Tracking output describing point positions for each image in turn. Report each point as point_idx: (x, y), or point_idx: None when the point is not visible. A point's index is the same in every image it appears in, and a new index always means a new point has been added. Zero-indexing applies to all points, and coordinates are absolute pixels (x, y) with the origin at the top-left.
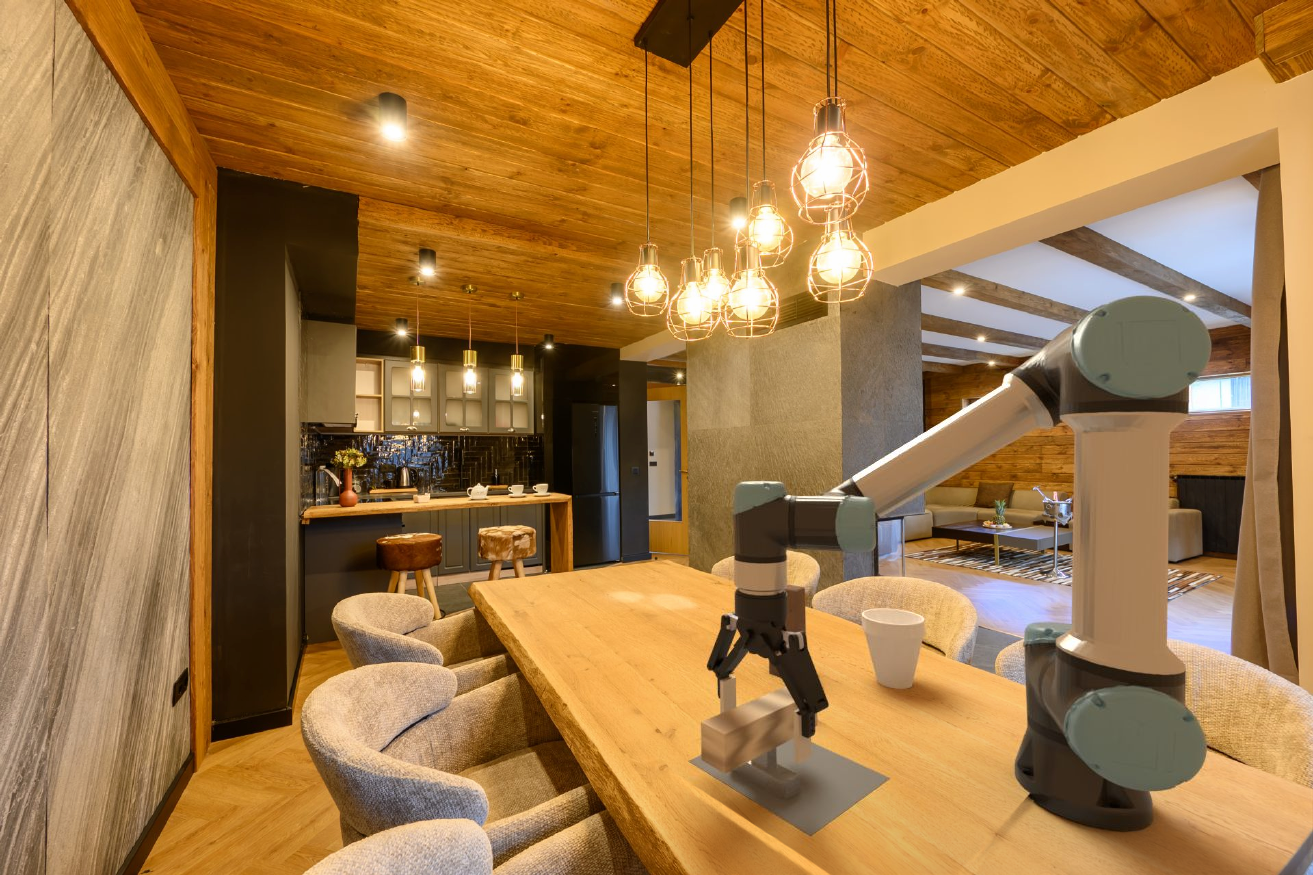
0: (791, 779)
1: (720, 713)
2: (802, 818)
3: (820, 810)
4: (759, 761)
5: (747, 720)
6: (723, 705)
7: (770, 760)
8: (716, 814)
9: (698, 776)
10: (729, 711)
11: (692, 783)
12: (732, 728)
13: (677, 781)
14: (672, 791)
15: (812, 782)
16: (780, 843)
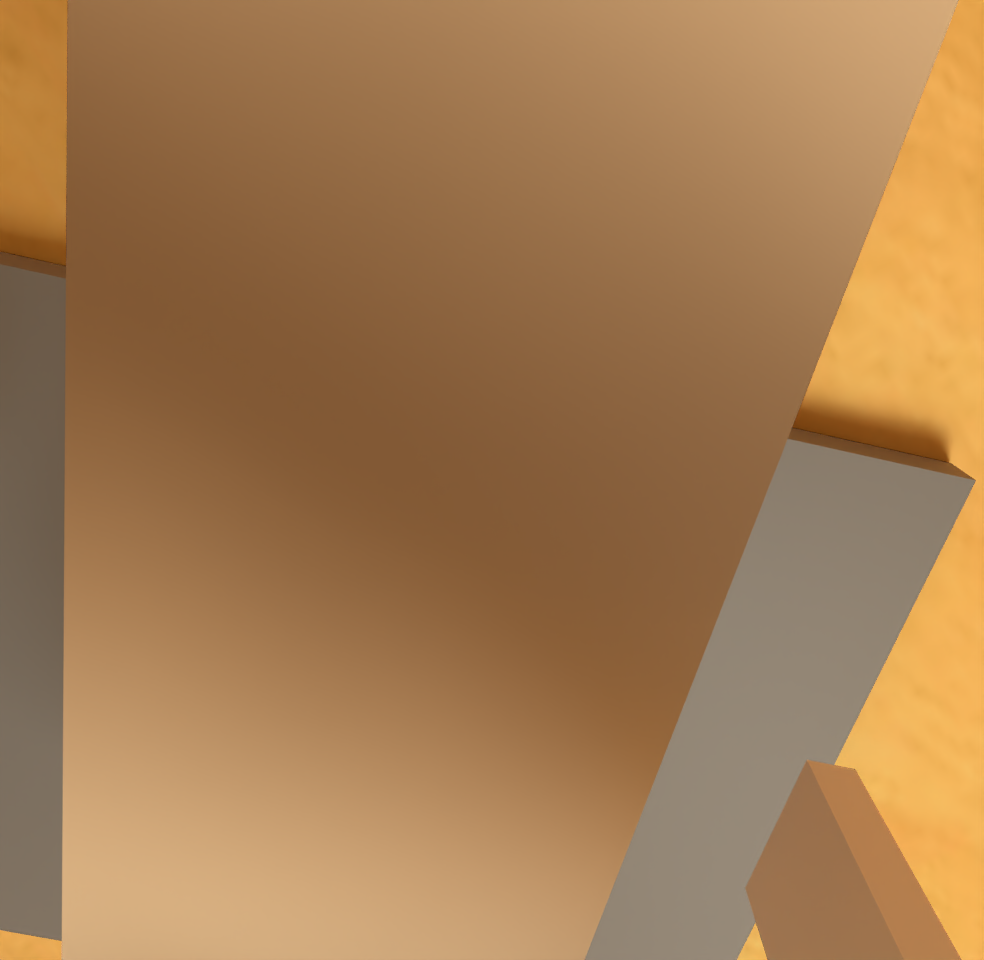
0: None
1: (904, 859)
2: (30, 366)
3: (9, 500)
4: None
5: (154, 636)
6: (906, 952)
7: None
8: None
9: (843, 421)
10: (622, 740)
11: (844, 328)
12: (139, 141)
13: (954, 282)
14: (935, 153)
15: None
16: (55, 126)
